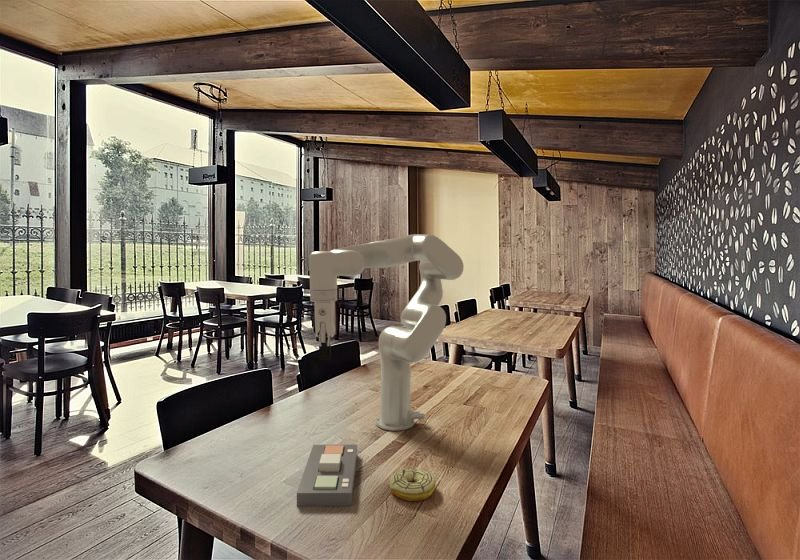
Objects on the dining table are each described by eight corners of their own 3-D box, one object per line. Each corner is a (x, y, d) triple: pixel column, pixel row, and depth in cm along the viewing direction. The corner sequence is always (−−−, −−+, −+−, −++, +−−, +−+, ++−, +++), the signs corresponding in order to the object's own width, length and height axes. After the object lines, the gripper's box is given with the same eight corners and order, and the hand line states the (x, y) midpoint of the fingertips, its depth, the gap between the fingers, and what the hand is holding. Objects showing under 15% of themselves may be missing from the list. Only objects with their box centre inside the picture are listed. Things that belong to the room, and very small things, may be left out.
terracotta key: (343, 456, 122) (343, 445, 122) (342, 464, 117) (342, 453, 117) (325, 456, 122) (325, 445, 122) (323, 464, 117) (323, 453, 117)
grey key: (340, 465, 114) (341, 453, 114) (339, 475, 109) (339, 463, 109) (321, 465, 114) (321, 453, 114) (319, 475, 109) (319, 463, 109)
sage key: (337, 487, 106) (337, 475, 106) (335, 499, 101) (335, 486, 101) (317, 488, 106) (317, 475, 106) (314, 499, 101) (314, 486, 101)
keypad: (357, 455, 124) (357, 443, 124) (351, 505, 100) (351, 491, 100) (313, 455, 123) (313, 443, 123) (296, 506, 100) (296, 492, 99)
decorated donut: (398, 476, 113) (398, 462, 113) (439, 484, 110) (440, 470, 110) (383, 498, 103) (383, 482, 103) (428, 508, 100) (429, 491, 100)
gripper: (335, 298, 119) (336, 366, 121) (338, 291, 134) (339, 352, 136) (306, 299, 119) (308, 367, 121) (313, 292, 134) (314, 352, 135)
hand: (325, 359), depth 128 cm, fingers closed
